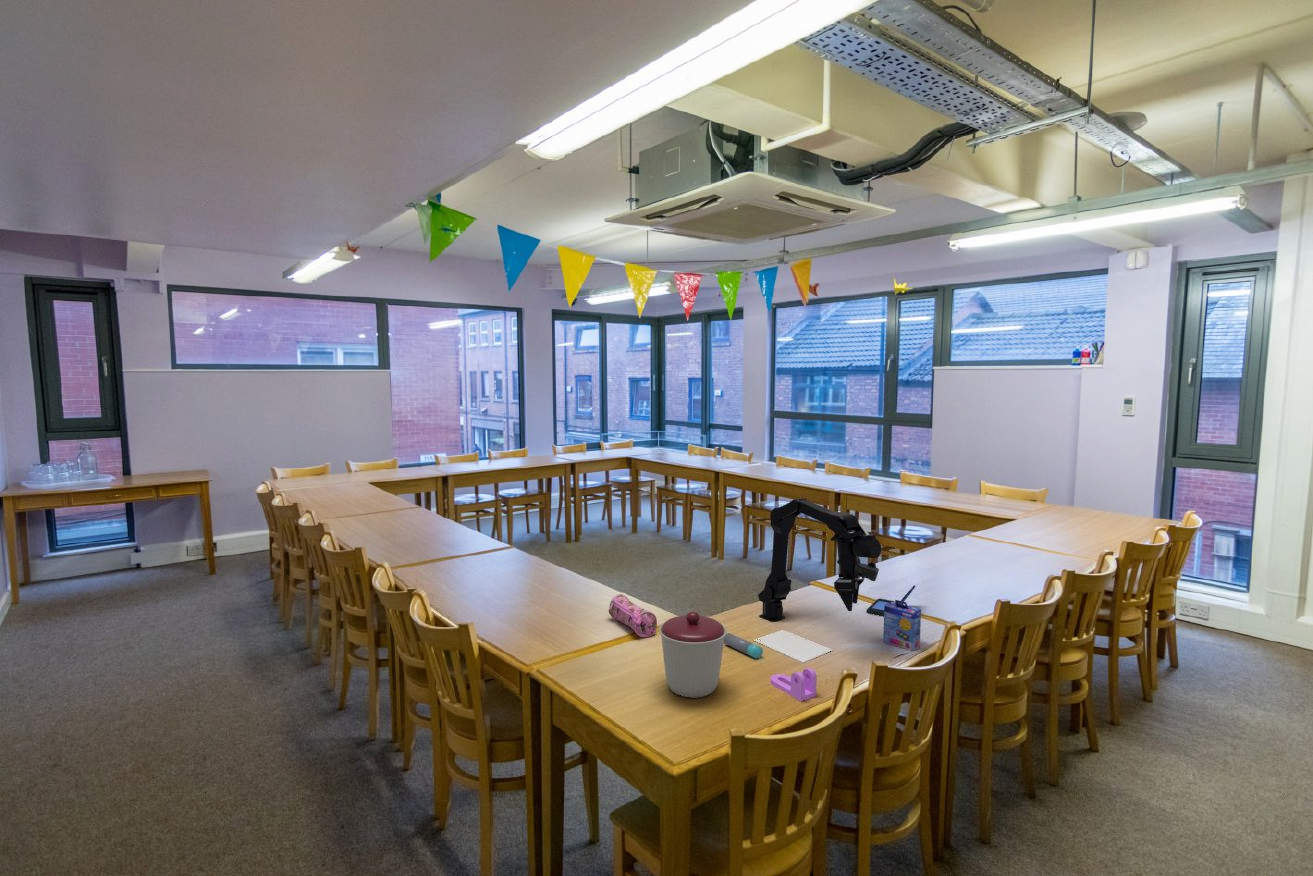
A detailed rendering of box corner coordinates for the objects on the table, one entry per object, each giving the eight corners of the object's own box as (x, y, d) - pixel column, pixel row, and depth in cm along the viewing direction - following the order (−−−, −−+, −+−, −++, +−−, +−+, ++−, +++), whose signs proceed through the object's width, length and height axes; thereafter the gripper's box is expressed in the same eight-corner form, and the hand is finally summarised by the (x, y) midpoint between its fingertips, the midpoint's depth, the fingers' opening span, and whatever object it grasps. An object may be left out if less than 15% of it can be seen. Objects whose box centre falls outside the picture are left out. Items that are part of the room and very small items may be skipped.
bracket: (816, 696, 166) (816, 671, 166) (800, 702, 163) (801, 676, 163) (781, 677, 177) (781, 653, 176) (766, 682, 174) (766, 657, 174)
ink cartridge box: (881, 642, 201) (883, 597, 199) (889, 637, 205) (891, 593, 203) (912, 652, 194) (914, 605, 192) (920, 646, 198) (922, 601, 196)
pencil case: (605, 620, 219) (605, 595, 218) (629, 615, 223) (629, 591, 223) (635, 642, 200) (635, 615, 200) (660, 636, 205) (661, 609, 204)
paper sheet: (753, 641, 201) (753, 640, 201) (782, 630, 210) (782, 629, 210) (803, 663, 186) (803, 662, 186) (832, 650, 194) (833, 649, 194)
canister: (676, 711, 158) (676, 629, 156) (647, 680, 175) (648, 605, 173) (738, 697, 165) (740, 618, 163) (706, 668, 182) (707, 597, 180)
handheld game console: (878, 601, 239) (878, 577, 238) (915, 609, 231) (916, 584, 230) (865, 614, 226) (866, 588, 225) (904, 622, 218) (905, 596, 218)
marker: (720, 644, 199) (719, 633, 198) (728, 640, 201) (728, 629, 201) (754, 660, 188) (754, 649, 187) (763, 656, 190) (762, 645, 189)
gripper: (870, 561, 182) (875, 616, 182) (879, 550, 199) (884, 600, 198) (831, 561, 187) (836, 614, 187) (843, 550, 204) (847, 599, 203)
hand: (852, 607), depth 194 cm, fingers open, 9 cm apart
